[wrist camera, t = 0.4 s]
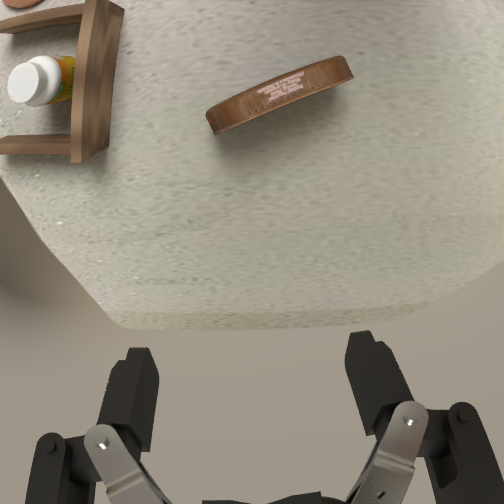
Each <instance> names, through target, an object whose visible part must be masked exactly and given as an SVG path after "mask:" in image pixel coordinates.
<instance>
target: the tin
mask: <svg viewBox="0 0 504 504" xmlns="http://www.w3.org/2000/svg"><path fill="white" fill-rule="evenodd" d="M353 78H354V76H353V75H352V73H351V71H350V69H349V66H348V64H347V62H346V60H345V58H344V57H343V56H335V57H332V58H329V59H326V60H322V61H319V62H316V63H313V64H311V65H308V66H305V67H302V68H299V69H297V70H294V71H291V72H289V73H286V74H283V75H281V76H278V77H276V78H273V79H271V80H269V81H266V82H264V83H262V84H259V85H257V86H255V87H253V88H250V89H248V90H246V91H244V92H242V93H240V94H237V95H235V96H233V97H231V98H229V99H227V100H225V101H223V102H221V103H219V104H217V105H215V106H214V107H212V108H210V109H209V110H208V111H207V112H206V118H207V120H208V122H209V124H210V126H211V128H212V130H213V134H214V135H216V134H219V133H222V132H225V131H227V130H229V129H232V128H234V127H236V126H239V125H241V124H243V123H245V122H248V121H250V120H252V119H255V118H257V117H259V116H261V115H264V114H266V113H268V112H270V111H273V110H275V109H277V108H280V107H282V106H285V105H287V104H289V103H292V102H294V101H297V100H299V99H302V98H304V97H307V96H309V95H312V94H315V93H317V92H320V91H323V90H325V89H328V88H331V87H334V86H336V85H339V84H341V83H344V82H346V81H348V80H351V79H353Z"/></svg>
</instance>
